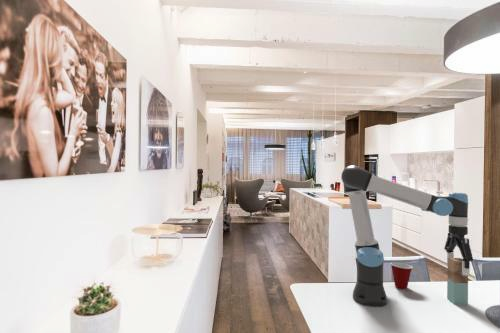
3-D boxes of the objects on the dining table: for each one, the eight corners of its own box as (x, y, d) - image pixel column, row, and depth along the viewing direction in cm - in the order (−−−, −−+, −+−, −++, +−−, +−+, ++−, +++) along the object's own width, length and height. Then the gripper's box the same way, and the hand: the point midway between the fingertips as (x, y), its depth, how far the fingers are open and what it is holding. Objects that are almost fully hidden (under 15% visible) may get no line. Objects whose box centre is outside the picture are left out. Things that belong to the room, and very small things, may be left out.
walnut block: (453, 282, 141) (454, 261, 141) (447, 278, 147) (447, 257, 147) (468, 283, 140) (468, 261, 140) (460, 279, 146) (461, 258, 146)
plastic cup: (416, 288, 159) (417, 265, 160) (405, 292, 153) (406, 268, 153) (396, 281, 168) (397, 260, 168) (385, 285, 162) (386, 263, 162)
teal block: (453, 304, 141) (454, 282, 141) (447, 298, 147) (447, 278, 147) (467, 305, 140) (468, 283, 140) (460, 299, 146) (460, 279, 146)
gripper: (483, 230, 131) (482, 280, 131) (452, 221, 156) (452, 262, 155) (464, 230, 132) (463, 278, 132) (437, 220, 157) (436, 262, 156)
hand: (457, 270), depth 143 cm, fingers open, 13 cm apart
